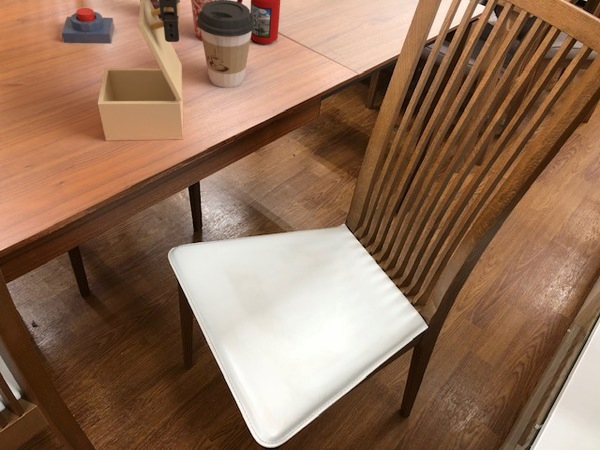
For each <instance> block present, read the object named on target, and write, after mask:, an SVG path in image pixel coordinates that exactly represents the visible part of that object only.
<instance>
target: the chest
mask: <svg viewBox="0 0 600 450" xmlns="http://www.w3.org/2000/svg"><path fill="white" fill-rule="evenodd" d="M102 73H103V74H102V79H101V84H100V89H99V95H98V100H97V108H98V112H99V116H100V121H101V125H102V129H103V135H104V139H105V141H106V142H110V141H111V142H112V141H114V142H115V141H116V142H117V141H119V142H120V141H165V140H166V141H167V140H184V100H183V96H182V100H181V101H177V99H176V97H175V95H174V93H173V91H172V89H171V88H170V86H169V84H168V82H167V80H166V78H165V76H164V74H163V72H162V70H161V69H160V67H157V68H155V67H149V68H148V67H104V69H103V72H102Z"/></svg>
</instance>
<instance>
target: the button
mask: <svg viewBox="0 0 600 450" xmlns="http://www.w3.org/2000/svg"><path fill="white" fill-rule="evenodd" d="M94 12H95V11H94V9H92V8H90V7H81V8H78V9H76V11H75V13H77V17H78V20H79V21H82V22H89V21H93V20H94V19H95V16H94Z"/></svg>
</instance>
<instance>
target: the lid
mask: <svg viewBox="0 0 600 450" xmlns="http://www.w3.org/2000/svg"><path fill="white" fill-rule="evenodd" d="M177 9H178V14H179V15H180V3H178V4H177ZM165 11H174V9H173V8H172V7H165ZM159 14H161V13H160V8H158V9H154V7H153V5H152V3H151V1H150V0H141V3H139V11H138V21H137V27H138V28H139V31H140V32H141V34H142V36H143V38H144V40H145V42H146V44H147V46H148V47H149V50H150V52H151V53H152V55H153V57H154V59H155V61H156V63H157V64H158V68H160V69H161V70H162V72H163V74H164V76H165V78H166V80H167V82H168V84H169V86H170V88H171V89H172V91H173V93H174V95H175V97H176V99H177V101H181V100H182V97H183V77H182V76H183V65H182V62H181V61H180V59H179V56H178V54H177V52H176V51H175V48H174V46H173V45H172V42H167V41H166V40H165V34H164V24H163V21H161V19H159V17H158V15H159ZM179 25H180V18H179V19H178V26H179Z"/></svg>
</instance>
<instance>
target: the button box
mask: <svg viewBox="0 0 600 450" xmlns="http://www.w3.org/2000/svg"><path fill="white" fill-rule="evenodd" d="M94 16H95V19H94V20H93V21H89V22H82V21H79V20H78V17H77V13H76V12H74V13H73V14H71V16H66V19H65V21H64V25H63V28H62V30H61V36H62V40H63V43H69V44H70V43H72V44H73V43H75V44H76V43H78V44H85V43H86V44H111V43H112V40H113V35H114V29H115V24H114V17H103V16H102V15H101V13H99V12H97V11H94Z"/></svg>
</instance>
